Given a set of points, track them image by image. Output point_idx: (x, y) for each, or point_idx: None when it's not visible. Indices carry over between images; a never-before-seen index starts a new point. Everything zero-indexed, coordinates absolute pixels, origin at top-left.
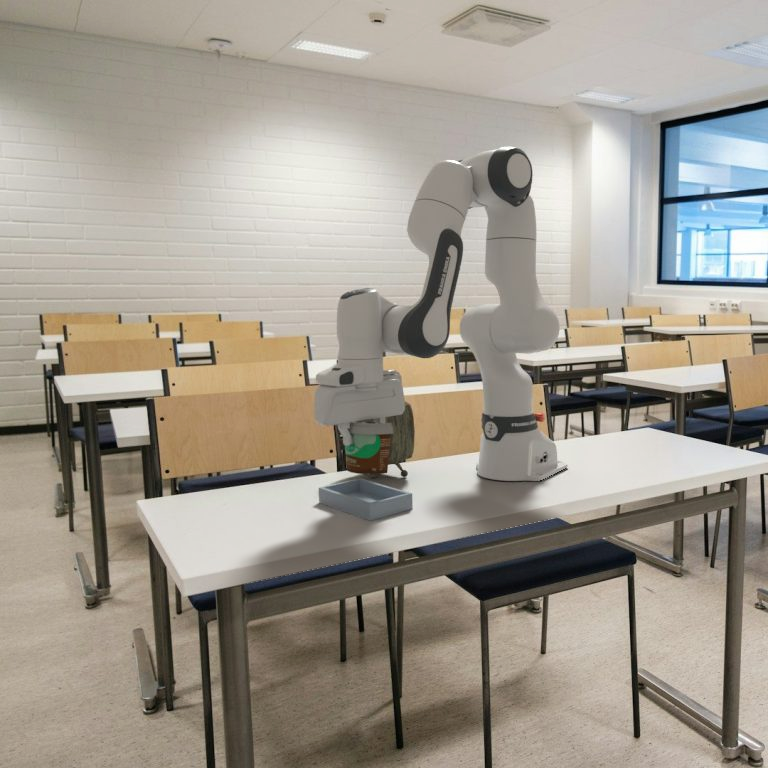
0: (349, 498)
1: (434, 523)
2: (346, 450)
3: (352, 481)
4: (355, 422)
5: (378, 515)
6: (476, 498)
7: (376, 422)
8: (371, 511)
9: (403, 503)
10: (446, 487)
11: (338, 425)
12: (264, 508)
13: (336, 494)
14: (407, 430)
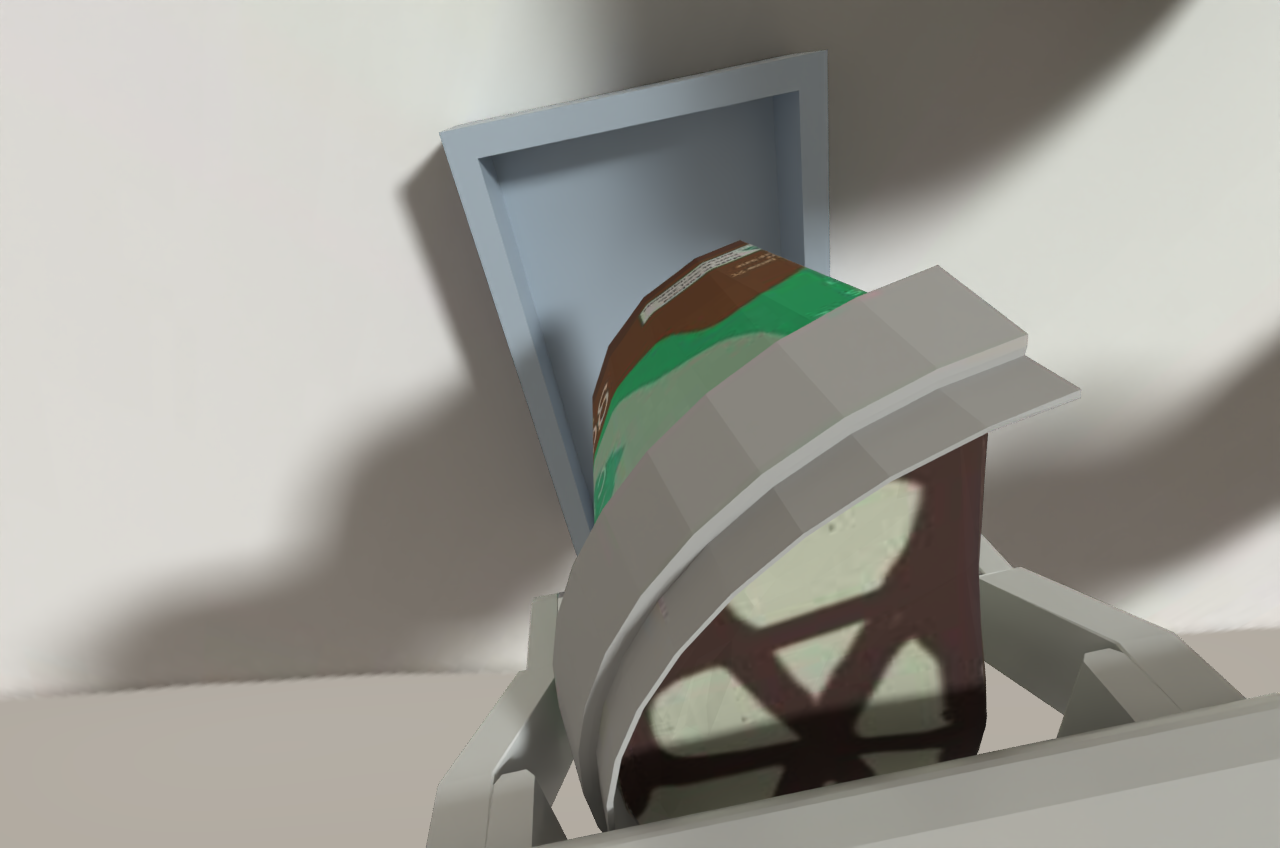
0: (542, 446)
1: None
2: (594, 487)
3: (735, 103)
4: (901, 546)
5: None
6: (1089, 480)
7: (1102, 652)
8: None
9: None
10: (1185, 270)
11: (437, 838)
12: (46, 19)
13: (507, 340)
14: None
